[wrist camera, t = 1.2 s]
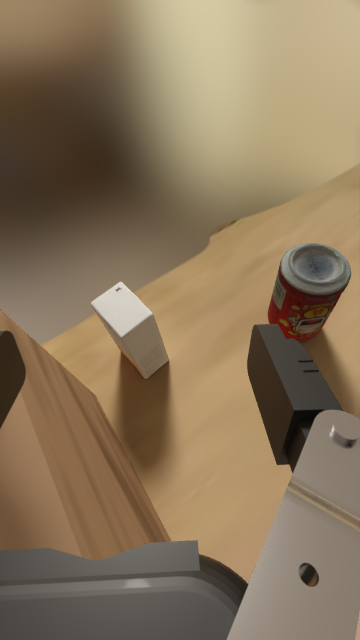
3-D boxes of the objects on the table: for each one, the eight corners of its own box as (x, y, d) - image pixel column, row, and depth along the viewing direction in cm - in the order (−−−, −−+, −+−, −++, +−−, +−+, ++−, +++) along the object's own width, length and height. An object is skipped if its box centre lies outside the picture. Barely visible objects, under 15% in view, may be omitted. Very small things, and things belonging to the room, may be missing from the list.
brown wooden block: (95, 395, 39) (-16, 294, 21) (172, 544, 30) (99, 604, 12) (52, 422, 38) (-108, 342, 19) (120, 586, 29) (-57, 731, 10)
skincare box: (119, 351, 42) (88, 301, 32) (143, 332, 43) (120, 279, 33) (145, 381, 40) (120, 338, 29) (170, 360, 41) (154, 312, 31)
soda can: (279, 353, 40) (301, 298, 29) (257, 310, 43) (270, 247, 33) (330, 337, 40) (369, 277, 30) (304, 296, 44) (331, 230, 33)
